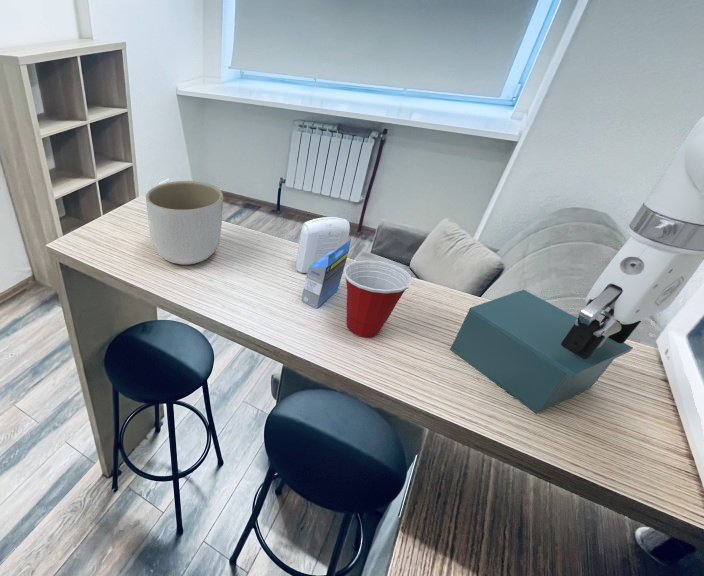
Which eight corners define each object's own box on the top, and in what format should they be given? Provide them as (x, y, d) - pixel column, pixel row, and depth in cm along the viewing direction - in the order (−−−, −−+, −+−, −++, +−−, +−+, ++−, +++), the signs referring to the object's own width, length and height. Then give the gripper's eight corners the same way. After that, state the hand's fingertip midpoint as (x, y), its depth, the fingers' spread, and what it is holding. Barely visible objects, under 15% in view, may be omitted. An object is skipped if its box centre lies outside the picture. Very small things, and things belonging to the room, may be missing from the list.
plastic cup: (368, 304, 81) (383, 252, 74) (406, 339, 72) (428, 283, 65) (320, 315, 78) (331, 262, 71) (354, 352, 70) (371, 296, 63)
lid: (630, 351, 57) (653, 323, 54) (572, 378, 54) (594, 349, 51) (521, 293, 69) (535, 267, 66) (468, 311, 65) (480, 284, 62)
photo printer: (335, 261, 94) (346, 212, 87) (343, 271, 91) (355, 220, 84) (292, 265, 93) (300, 215, 86) (299, 275, 90) (307, 224, 83)
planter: (235, 253, 98) (239, 193, 89) (186, 282, 88) (184, 218, 80) (186, 231, 108) (184, 175, 99) (136, 255, 98) (129, 195, 89)
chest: (591, 387, 63) (623, 348, 58) (536, 414, 59) (565, 374, 54) (500, 330, 74) (521, 293, 69) (449, 349, 70) (467, 311, 65)
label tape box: (322, 283, 87) (332, 231, 80) (340, 290, 85) (352, 238, 78) (300, 301, 82) (309, 248, 75) (318, 310, 80) (329, 255, 73)
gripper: (677, 259, 40) (581, 382, 51) (765, 227, 46) (662, 344, 56) (592, 228, 46) (521, 344, 56) (678, 202, 51) (599, 313, 62)
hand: (592, 343), depth 56 cm, fingers open, 6 cm apart
